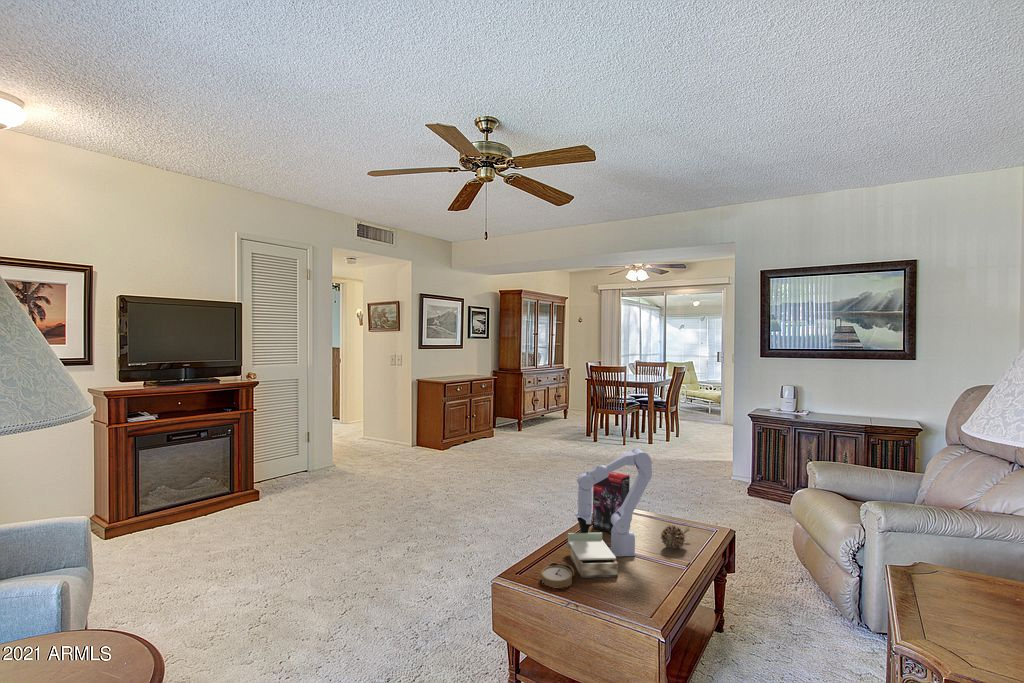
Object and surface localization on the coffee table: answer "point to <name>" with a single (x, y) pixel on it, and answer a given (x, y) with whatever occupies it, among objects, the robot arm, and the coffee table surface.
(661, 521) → the coffee table surface
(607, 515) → the graphics card box
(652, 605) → the coffee table surface
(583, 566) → the case
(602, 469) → the robot arm
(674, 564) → the coffee table surface
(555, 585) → the alarm clock
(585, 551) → the lid
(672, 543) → the pine cone
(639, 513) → the coffee table surface
